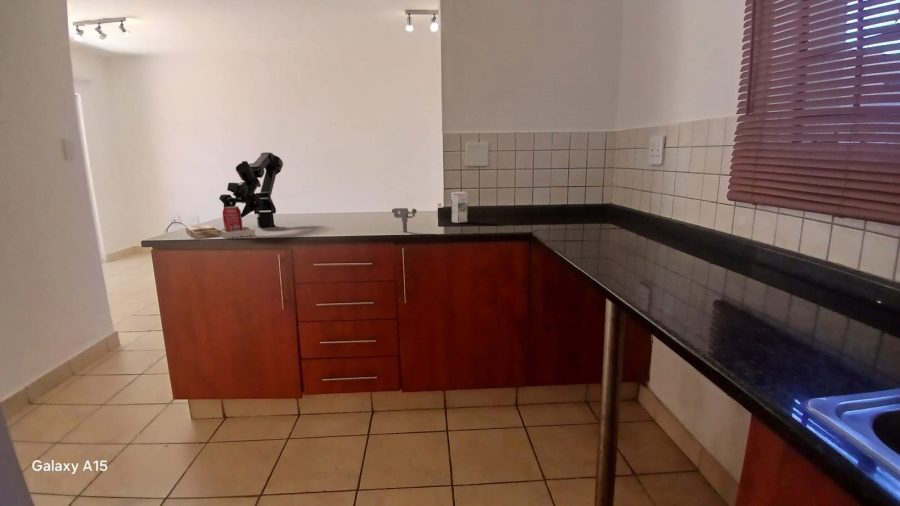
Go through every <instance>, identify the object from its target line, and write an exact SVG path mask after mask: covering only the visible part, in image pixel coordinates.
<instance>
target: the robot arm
mask: <svg viewBox="0 0 900 506" xmlns="http://www.w3.org/2000/svg"><path fill="white" fill-rule="evenodd" d="M283 167H284V162H283V160H282V159H281V157H279V156H278V155H275V154H274V153H273V152H269V151H268V152H264V151H263V152H261V153H260V155H259V157H258V158H257V159H256V160H255V161H254V162H251V163H248V160H243V161H241V163H239V164H238V165H236V167H235V171H236V172H237V174H238V176H239V178H240V180H241V181H240V182H228V184H227V189H226V191H227V192H231V193H232V195H231V194H225V193H224V194H220V196H219V198H218V200H220V201H221V203H222V204H223V210H224V207H229V206H237V203H238V204H239V203H240V204H245V205H244V207H243V209H242V211H241V217H242V218H244V217H246V216H248V215H249V214H250V213H252V212H253V213H254V215H257V217H256V223H257V227H259V228H269V227H276V224H275V221H274V220H275V219H274V214H276V212H277V208H276V206H275V204H274V201H273V199H272V197H271V196H272V194H273V193H272V192H273V188H274V184H275V180H276V176H277V175H278V174H280V173H281V171H282V168H283ZM260 178H261V179H262V178H263V180H262V185H261V182H260V180H259V179H260ZM257 188H260V192H256V190H257ZM233 196H234V197H233ZM223 210H222V211H223Z"/></svg>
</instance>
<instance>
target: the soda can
mask: <svg viewBox="0 0 900 506" xmlns="http://www.w3.org/2000/svg"><path fill="white" fill-rule="evenodd" d="M223 209H224V210H222V218H223V219H222V221H223V229H225V231H226V232H231V231H241V230H243V227H244V226H243V220H242V219H243V217H241V213H242V211H241V208H239V206H238V205H235V206H229V207H224V206H223Z"/></svg>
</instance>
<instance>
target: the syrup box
mask: <svg viewBox="0 0 900 506" xmlns="http://www.w3.org/2000/svg"><path fill="white" fill-rule="evenodd" d="M450 197H451V199H450V201H451V208H450V209H451V217H450V218H451V222H452V223H455V224H456V223H457V224H462V223H468V220H469V219H468V215H469V213H468V210H469V209H468V201H469V200H468V197H469V196H468V192H467V191H462V190H461V191H452V192H451V196H450Z"/></svg>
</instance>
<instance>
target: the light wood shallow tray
mask: <svg viewBox="0 0 900 506" xmlns="http://www.w3.org/2000/svg"><path fill="white" fill-rule="evenodd" d="M185 230H186V234H187V235H189V234H190V235H191V236H190V235H189V236H190V237H192V238H193V239H194V238H195V239H200V238H199V237H204V238H210V237H209V236H214V237H220V232H219V228H217V227H215V226H214V225H211V224H208V225H207V224H206V225H195V226H186V227H185Z"/></svg>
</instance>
